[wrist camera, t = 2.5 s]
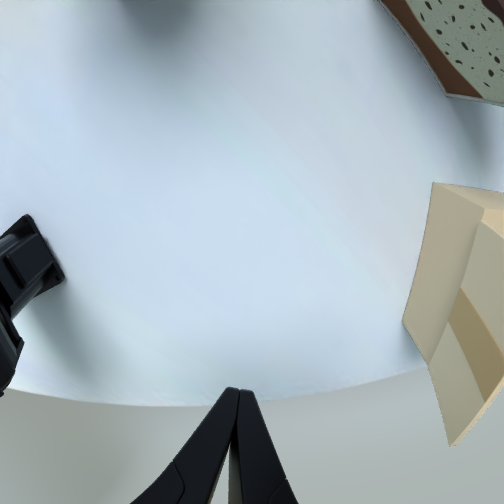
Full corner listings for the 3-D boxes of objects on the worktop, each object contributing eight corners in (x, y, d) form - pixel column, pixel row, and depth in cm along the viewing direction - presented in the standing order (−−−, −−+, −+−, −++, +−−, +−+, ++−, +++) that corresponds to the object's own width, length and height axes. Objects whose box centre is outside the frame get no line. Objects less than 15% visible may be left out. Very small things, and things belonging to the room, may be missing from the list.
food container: (496, 81, 14) (590, 89, 5) (455, 114, 16) (561, 132, 7) (404, -49, 10) (473, -102, 1) (350, -28, 12) (411, -102, 3)
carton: (401, 320, 23) (432, 374, 17) (433, 182, 18) (490, 211, 12) (502, 307, 23) (535, 343, 17) (534, 199, 18) (581, 225, 12)
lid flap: (433, 367, 17) (426, 367, 17) (485, 220, 12) (477, 219, 13) (456, 445, 11) (448, 447, 11) (557, 282, 6) (549, 282, 6)
